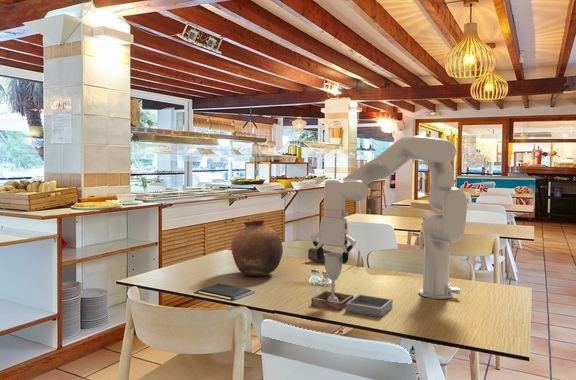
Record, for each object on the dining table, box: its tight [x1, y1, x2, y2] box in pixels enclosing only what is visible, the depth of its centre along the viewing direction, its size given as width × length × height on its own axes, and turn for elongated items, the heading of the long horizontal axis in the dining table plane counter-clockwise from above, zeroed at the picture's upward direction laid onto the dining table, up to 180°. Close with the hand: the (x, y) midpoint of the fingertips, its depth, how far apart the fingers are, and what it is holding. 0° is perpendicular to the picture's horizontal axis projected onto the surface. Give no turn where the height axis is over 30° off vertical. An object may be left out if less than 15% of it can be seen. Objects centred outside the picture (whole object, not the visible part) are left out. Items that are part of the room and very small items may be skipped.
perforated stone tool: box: [307, 247, 333, 264], centre depth 243 cm, size 15×5×7 cm, turn 61°
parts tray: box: [345, 294, 394, 318], centre depth 168 cm, size 13×13×3 cm
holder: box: [311, 290, 355, 311], centre depth 175 cm, size 12×12×2 cm
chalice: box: [324, 252, 343, 302], centre depth 174 cm, size 7×7×18 cm
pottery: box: [230, 218, 284, 277], centre depth 216 cm, size 23×23×25 cm
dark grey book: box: [192, 283, 256, 302], centre depth 187 cm, size 20×2×15 cm
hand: (332, 261), depth 174 cm, fingers open, 9 cm apart
